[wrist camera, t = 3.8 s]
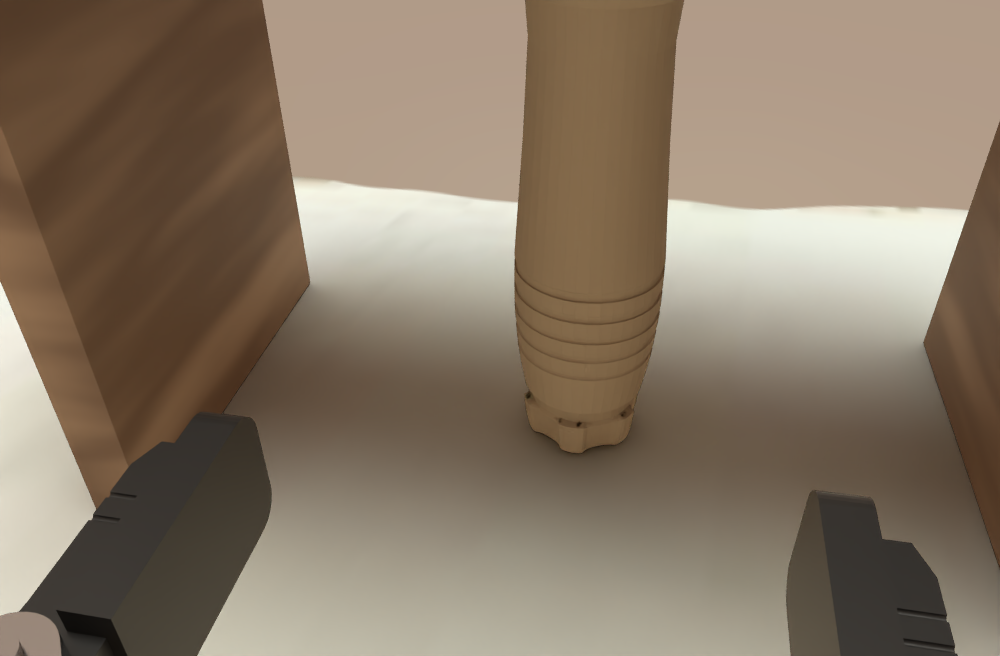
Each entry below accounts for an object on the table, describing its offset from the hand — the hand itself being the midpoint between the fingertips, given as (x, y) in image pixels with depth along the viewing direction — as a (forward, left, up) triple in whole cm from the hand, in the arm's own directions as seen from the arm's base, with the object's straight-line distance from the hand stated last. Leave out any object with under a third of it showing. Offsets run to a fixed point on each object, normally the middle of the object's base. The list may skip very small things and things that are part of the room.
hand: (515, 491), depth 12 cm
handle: (0, -11, -9) cm, 14 cm away
